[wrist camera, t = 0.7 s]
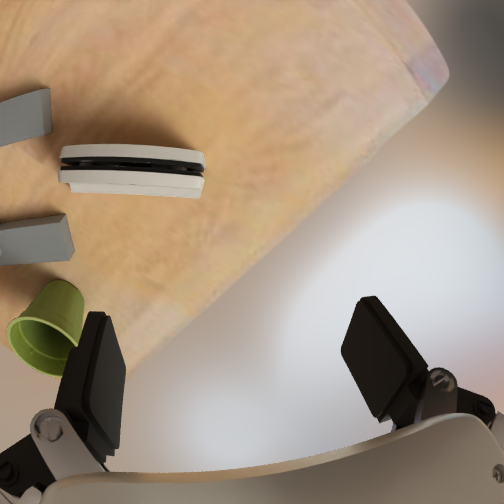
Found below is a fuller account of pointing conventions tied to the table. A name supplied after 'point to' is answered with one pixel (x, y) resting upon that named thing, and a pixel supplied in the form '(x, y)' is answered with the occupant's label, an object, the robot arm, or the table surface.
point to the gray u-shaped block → (37, 229)
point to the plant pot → (48, 328)
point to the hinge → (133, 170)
